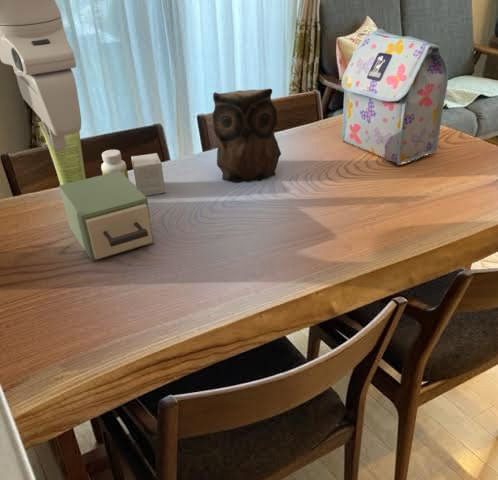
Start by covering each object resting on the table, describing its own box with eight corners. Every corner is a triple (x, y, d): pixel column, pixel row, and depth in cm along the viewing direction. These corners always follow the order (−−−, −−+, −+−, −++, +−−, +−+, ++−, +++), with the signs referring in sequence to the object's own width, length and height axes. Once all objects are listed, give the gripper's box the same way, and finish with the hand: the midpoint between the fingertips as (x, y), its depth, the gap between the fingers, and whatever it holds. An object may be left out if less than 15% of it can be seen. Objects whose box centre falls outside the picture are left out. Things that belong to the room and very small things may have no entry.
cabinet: (154, 242, 106) (147, 198, 100) (92, 261, 101) (80, 215, 95) (127, 212, 116) (120, 170, 110) (70, 228, 111) (58, 185, 105)
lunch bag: (330, 142, 144) (338, 32, 127) (377, 129, 151) (390, 22, 134) (390, 171, 129) (408, 51, 112) (439, 155, 136) (463, 39, 119)
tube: (79, 201, 120) (57, 113, 108) (98, 206, 119) (78, 116, 106) (62, 213, 116) (38, 122, 104) (81, 217, 115) (59, 125, 102)
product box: (161, 182, 127) (157, 152, 123) (166, 193, 123) (161, 162, 118) (135, 186, 126) (130, 155, 121) (139, 197, 121) (133, 166, 117)
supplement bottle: (119, 187, 126) (111, 146, 120) (136, 192, 123) (129, 151, 117) (102, 196, 122) (93, 154, 116) (119, 202, 120) (110, 159, 114)
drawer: (162, 253, 101) (157, 216, 96) (104, 271, 97) (95, 233, 92) (128, 214, 114) (121, 179, 109) (75, 228, 109) (66, 193, 104)
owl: (282, 174, 129) (284, 87, 117) (246, 192, 122) (243, 101, 110) (244, 160, 136) (242, 76, 123) (208, 176, 129) (201, 89, 116)
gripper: (-8, 32, 77) (21, 129, 85) (25, 63, 63) (55, 175, 72) (37, 27, 79) (60, 121, 88) (78, 55, 65) (100, 164, 74)
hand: (58, 146), depth 80 cm, fingers closed
